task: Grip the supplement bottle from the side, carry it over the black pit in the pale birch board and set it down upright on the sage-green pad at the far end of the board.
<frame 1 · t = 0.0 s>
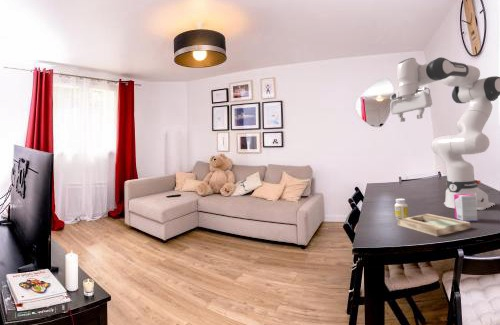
hand: (410, 120, 123), 48 cm above the table, tool pointing down, fingers open, 8 cm apart
pit board: (431, 226, 107), on the table
supplement bottle: (402, 219, 122), on the table
supplement box: (466, 220, 111), on the table
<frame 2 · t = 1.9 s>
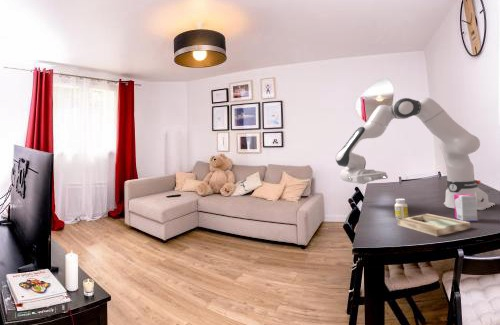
hand: (379, 177, 133), 20 cm above the table, tool horizontal, fingers open, 8 cm apart
nothing on the table moved.
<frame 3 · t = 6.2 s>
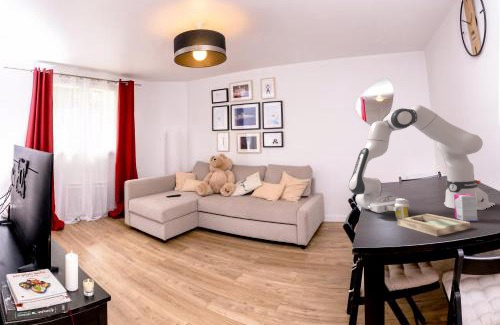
hand: (402, 208, 121), 6 cm above the table, tool horizontal, fingers closed on supplement bottle, 5 cm apart
supplement bottle: (402, 219, 122), on the table, touching gripper
everything else where it was.
when the fingers open (10 cm above the table, at t = 12.7 s): supplement bottle stays where it is, resting on pit board.
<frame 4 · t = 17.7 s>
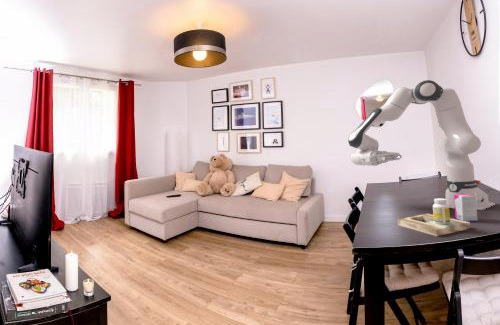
hand: (393, 157, 129), 30 cm above the table, tool horizontal, fingers open, 8 cm apart
supplement bottle: (442, 223, 103), point 3 cm above the table, touching pit board
everything else where it was.
at the end: supplement bottle inside the target area (0.4 cm from its centre), point 2.6 cm above the table; supplement bottle tilted 0°; the gripper is holding nothing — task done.
